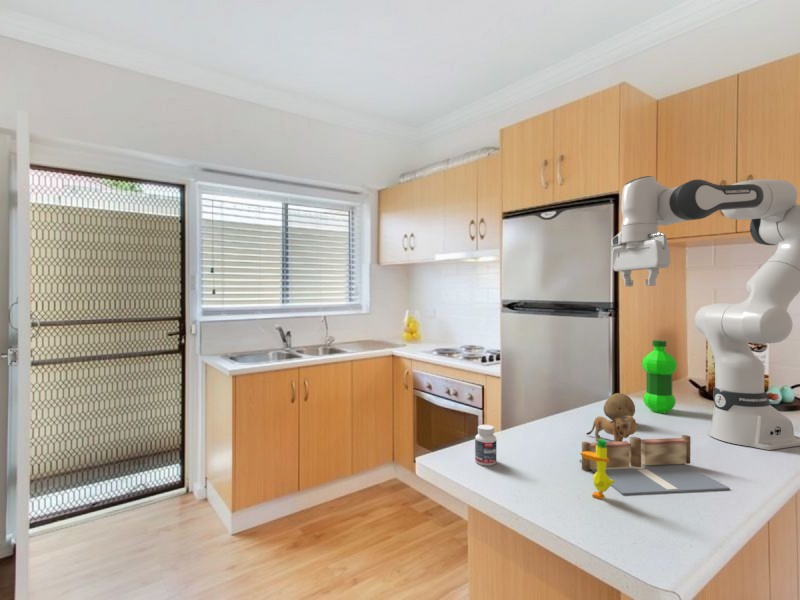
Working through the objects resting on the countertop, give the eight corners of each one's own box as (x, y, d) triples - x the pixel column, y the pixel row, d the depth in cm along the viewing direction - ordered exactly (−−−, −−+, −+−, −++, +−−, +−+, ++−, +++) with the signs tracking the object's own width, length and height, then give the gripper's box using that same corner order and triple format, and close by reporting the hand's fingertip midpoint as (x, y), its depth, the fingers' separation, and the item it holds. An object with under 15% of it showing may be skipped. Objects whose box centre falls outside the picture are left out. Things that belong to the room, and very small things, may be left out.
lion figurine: (641, 449, 115) (641, 416, 115) (630, 453, 112) (630, 419, 112) (591, 434, 127) (591, 404, 127) (580, 437, 124) (580, 407, 124)
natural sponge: (637, 430, 130) (637, 397, 130) (605, 427, 133) (605, 395, 133) (632, 421, 139) (632, 391, 139) (602, 419, 142) (602, 389, 142)
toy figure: (578, 494, 89) (578, 437, 89) (583, 488, 92) (583, 433, 92) (612, 504, 85) (612, 445, 85) (617, 498, 88) (617, 440, 87)
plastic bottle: (640, 411, 150) (640, 341, 150) (646, 405, 158) (646, 338, 158) (673, 416, 144) (673, 343, 143) (678, 410, 152) (678, 340, 151)
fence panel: (645, 465, 102) (645, 439, 102) (640, 462, 104) (640, 436, 104) (692, 463, 103) (692, 437, 103) (686, 460, 105) (686, 434, 105)
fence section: (637, 465, 104) (637, 436, 104) (643, 469, 102) (643, 440, 102) (579, 467, 103) (579, 438, 103) (584, 471, 100) (584, 442, 100)
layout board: (669, 457, 109) (669, 455, 109) (729, 489, 91) (729, 487, 91) (579, 461, 107) (579, 459, 107) (622, 495, 89) (622, 492, 89)
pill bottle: (484, 467, 103) (483, 431, 103) (471, 460, 108) (470, 425, 108) (500, 463, 106) (500, 428, 106) (487, 456, 110) (487, 422, 110)
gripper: (677, 230, 107) (677, 285, 108) (627, 240, 128) (627, 286, 128) (653, 230, 107) (653, 285, 107) (607, 240, 127) (607, 286, 128)
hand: (639, 286), depth 118 cm, fingers open, 8 cm apart
